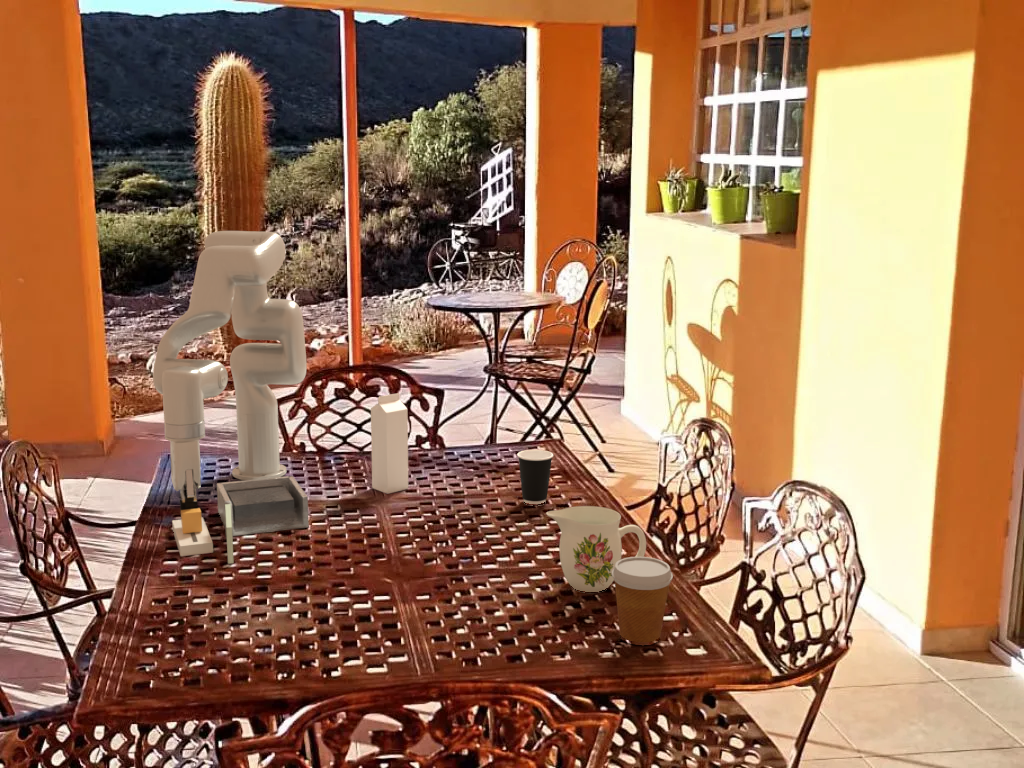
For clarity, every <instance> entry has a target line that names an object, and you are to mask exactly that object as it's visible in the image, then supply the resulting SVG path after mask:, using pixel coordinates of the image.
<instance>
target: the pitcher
mask: <svg viewBox="0 0 1024 768" xmlns="http://www.w3.org/2000/svg"><path fill="white" fill-rule="evenodd" d="M545 514H546V515H547V517H549V518H551V519H553V520H554V521H555V522H556V524H557V525H558V527H559V529H560V532H561V533H560V537H559V560H560V566H561V569H562V572H563V576H564V578H565V579H566V582H567V583H568V584H569V585H570V587H571V586H572V587H573V588H574V589H573V588H572V587H571V588H572V589H573V590H575V589H576V590H575V591H577V590H580V591H585V592H598V593H600V592H599V591H602V590H605V589H606V588H609V587H610V585H612V583H613V582H614V579H613V576H612V570H613V569H614V567H615V563H616V562H617V561H619V560H621V559H622V554H623V553H622V552H623V550H622V549H623V546H622V538H623V537H624V535H626V534H629V533H634V534H636V535H637V538H638V542H639V545H638V546H639V547H638V550H637V553H636V555H635V556H634V557H645V554H646V550H647V539H646V538H647V537H646V535H645V533H644V531H643V530H642V529H641V527H639V526H638V525H636V524H627V525H625V526H622V527H620V523H621V520H622V516H621V514H620V513H619V512H618V511H616V510H614V509H611V508H609V507H602V506H594V505H583V506H581V505H579V506H571V507H566V508H563V509H557V510H556V509H555V510H549V511H547V512H545ZM606 590H607V589H606ZM606 590H605V591H606ZM580 591H579V592H580ZM585 592H584V593H585ZM602 592H603V591H602Z"/></svg>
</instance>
